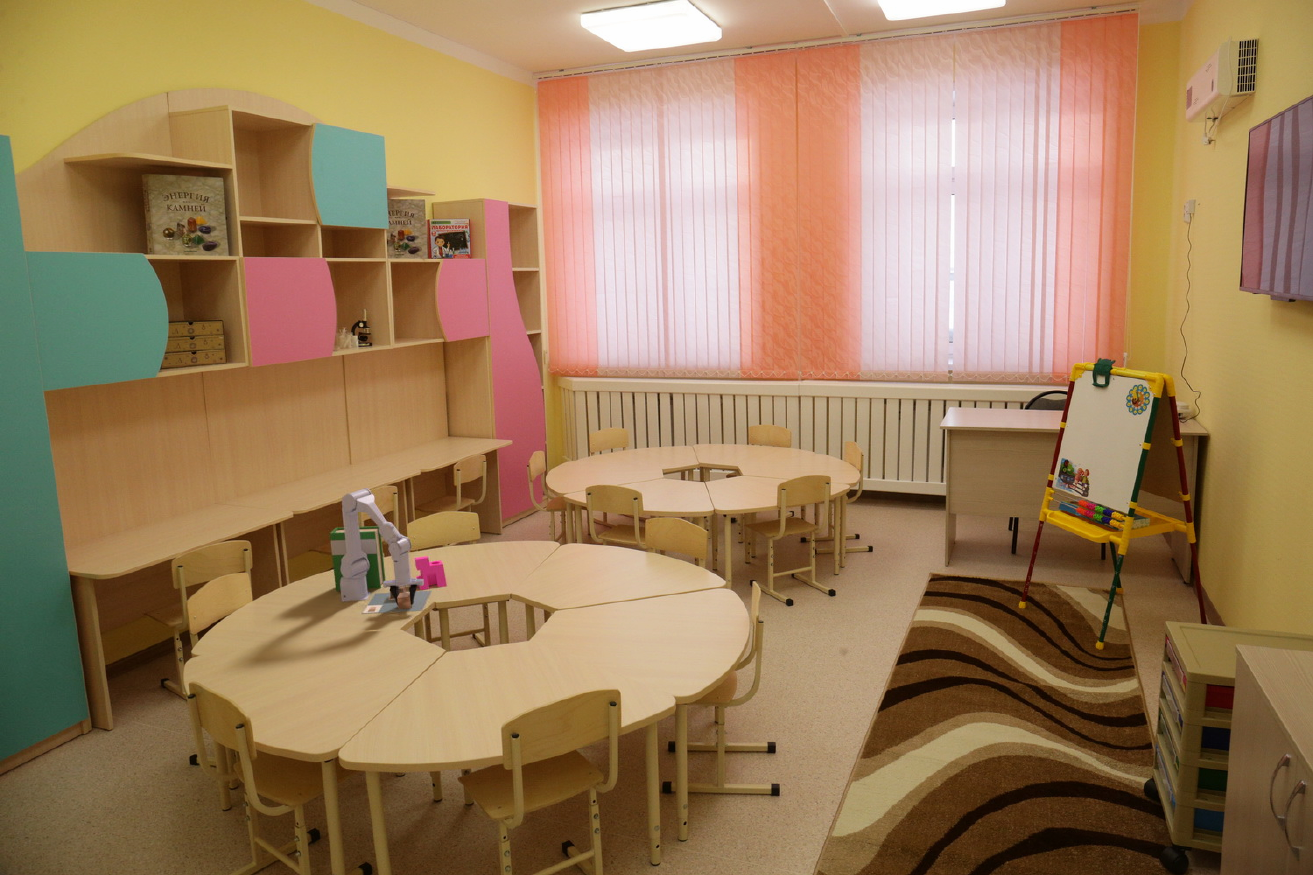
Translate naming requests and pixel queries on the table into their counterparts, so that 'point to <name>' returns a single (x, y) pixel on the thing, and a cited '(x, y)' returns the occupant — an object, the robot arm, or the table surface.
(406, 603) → the terracotta block
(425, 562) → the bracket
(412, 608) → the mat
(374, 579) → the hardback book
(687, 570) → the table surface
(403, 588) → the walnut block
